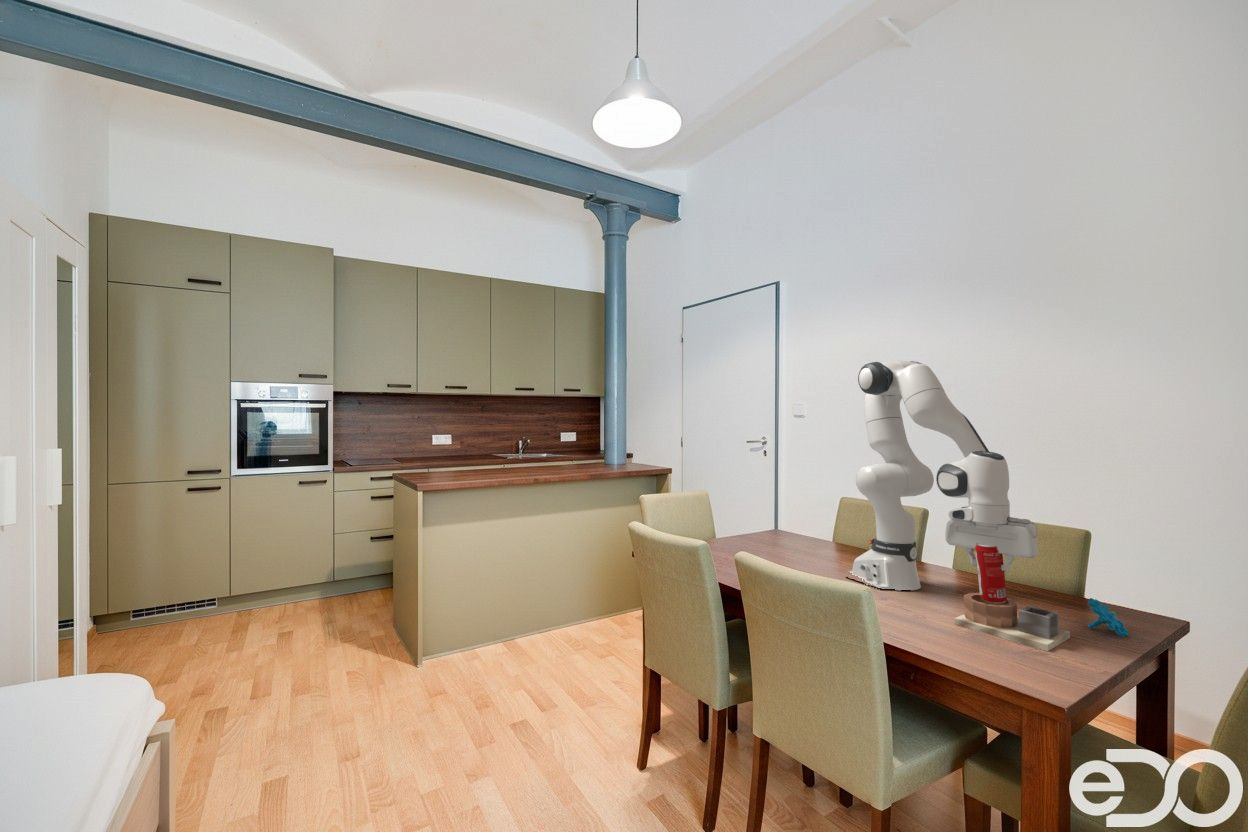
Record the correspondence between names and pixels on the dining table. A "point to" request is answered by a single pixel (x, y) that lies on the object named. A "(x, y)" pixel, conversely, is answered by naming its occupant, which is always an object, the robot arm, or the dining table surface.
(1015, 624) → the cream base plate
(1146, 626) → the dining table surface
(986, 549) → the beverage can
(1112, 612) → the blue bumpy branched piece
